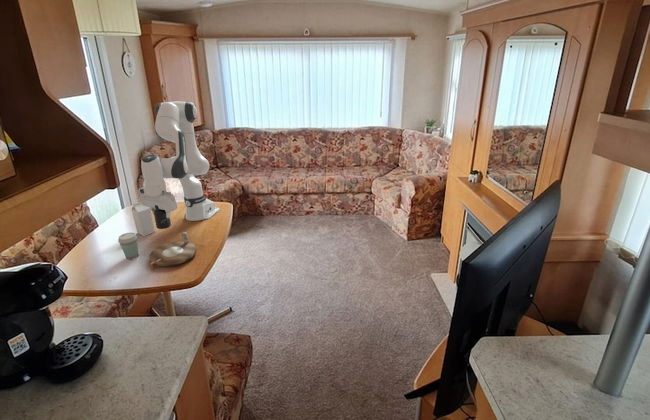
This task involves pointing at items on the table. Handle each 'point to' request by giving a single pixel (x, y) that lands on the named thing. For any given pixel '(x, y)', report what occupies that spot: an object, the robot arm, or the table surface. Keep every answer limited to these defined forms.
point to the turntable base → (153, 265)
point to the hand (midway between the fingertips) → (161, 216)
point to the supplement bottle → (161, 218)
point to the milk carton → (143, 219)
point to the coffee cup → (129, 245)
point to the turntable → (173, 252)
